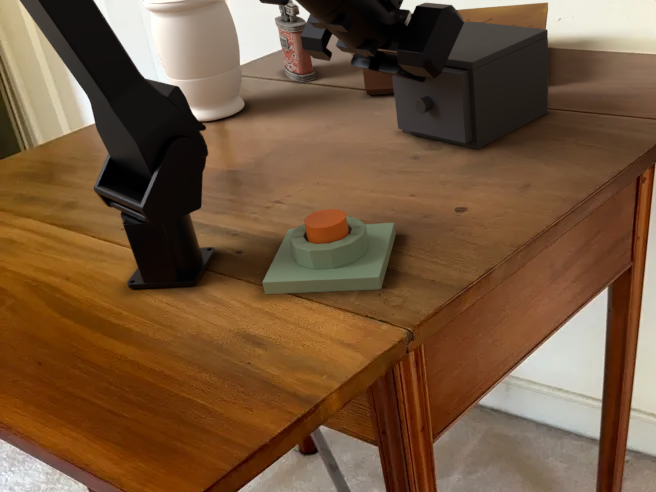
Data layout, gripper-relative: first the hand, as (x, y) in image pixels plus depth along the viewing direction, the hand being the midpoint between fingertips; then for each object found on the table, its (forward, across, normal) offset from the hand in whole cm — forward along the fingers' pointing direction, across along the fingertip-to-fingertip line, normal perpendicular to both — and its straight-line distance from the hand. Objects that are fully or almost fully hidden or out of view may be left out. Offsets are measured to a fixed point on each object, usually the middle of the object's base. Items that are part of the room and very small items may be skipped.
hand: (423, 77), depth 88 cm
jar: (+2, +36, +9) cm, 37 cm away
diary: (+21, +15, -11) cm, 28 cm away
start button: (-14, -12, +21) cm, 28 cm away
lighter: (+14, +37, -3) cm, 40 cm away
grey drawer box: (+11, 0, 0) cm, 11 cm away
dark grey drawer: (+8, 0, +1) cm, 8 cm away
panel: (-12, -12, +23) cm, 29 cm away
